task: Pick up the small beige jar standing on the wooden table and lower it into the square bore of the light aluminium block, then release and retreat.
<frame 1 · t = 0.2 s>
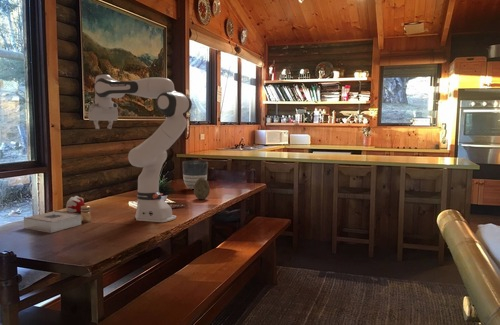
hand: (103, 128, 236), 47 cm above the table, fingers open, 8 cm apart
planter: (195, 189, 326), on the table
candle: (76, 213, 237), on the table
bore block: (53, 226, 206), on the table
decorative egg: (201, 199, 284), on the table
small beige jar: (85, 221, 217), on the table
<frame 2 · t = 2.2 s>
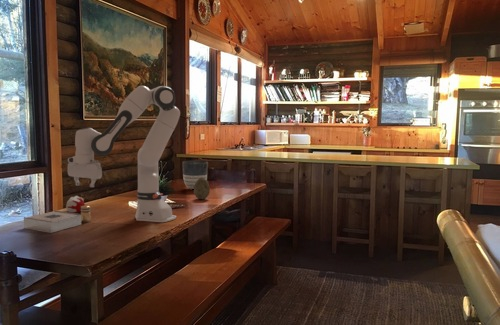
hand: (84, 186, 215), 18 cm above the table, fingers open, 8 cm apart
nothing on the table moved.
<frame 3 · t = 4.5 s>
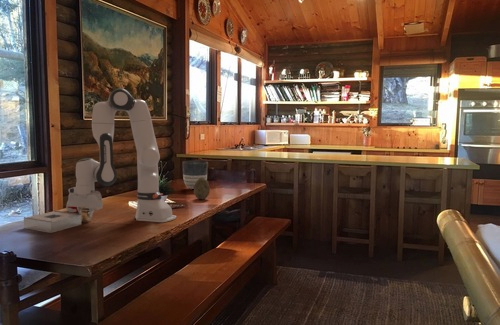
hand: (85, 216, 217), 3 cm above the table, fingers closed on small beige jar, 5 cm apart
small beige jar: (85, 221, 217), on the table, touching gripper
everything else where it was.
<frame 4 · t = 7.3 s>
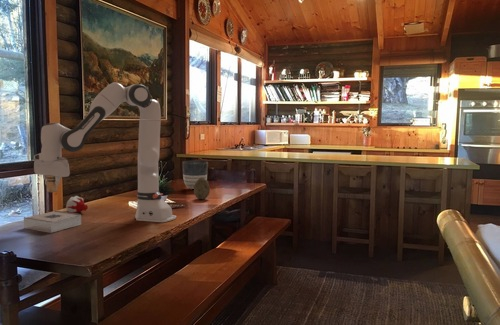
hand: (52, 184, 204), 21 cm above the table, fingers closed on small beige jar, 5 cm apart
small beige jar: (52, 191, 204), point 17 cm above the table, touching gripper
everything else where it was.
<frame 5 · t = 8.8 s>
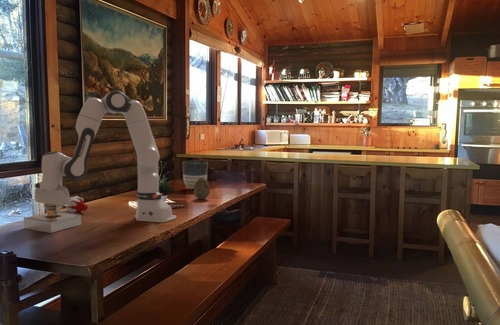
hand: (52, 212, 205), 7 cm above the table, fingers closed on small beige jar, 5 cm apart
small beige jar: (52, 219, 205), point 3 cm above the table, touching gripper
everything else where it was.
when the fingers open (5 cm above the table, at t = 10.1 s): small beige jar drops 2 cm, resting in bore block.
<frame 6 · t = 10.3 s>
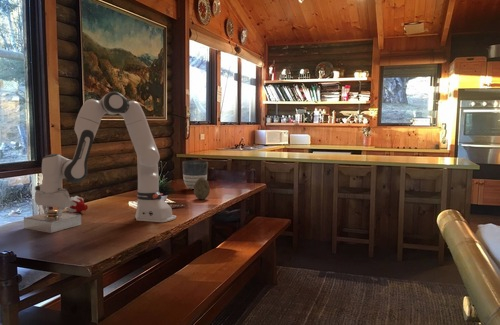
hand: (53, 215, 205), 5 cm above the table, fingers open, 7 cm apart
small beige jar: (53, 226, 206), resting in bore block
everything else where it was.
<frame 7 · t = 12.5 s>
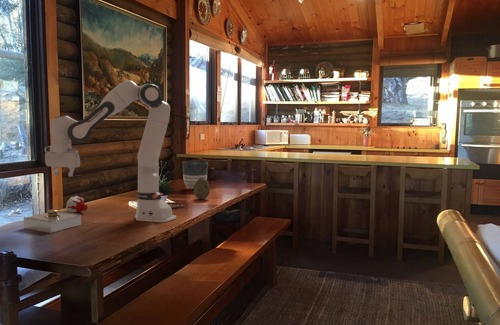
hand: (63, 175, 211), 24 cm above the table, fingers open, 8 cm apart
nothing on the table moved.
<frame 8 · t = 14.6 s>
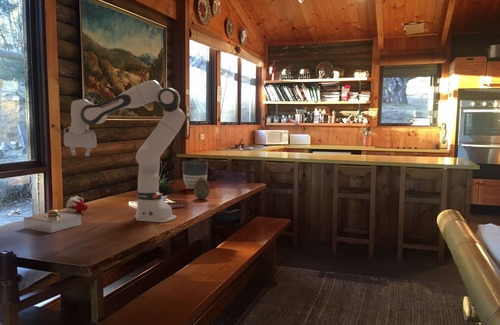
hand: (80, 155, 224), 33 cm above the table, fingers open, 8 cm apart
nothing on the table moved.
at the end: small beige jar 0.0 cm off-centre on the bore block, point 0.0 cm above the bore block's base; small beige jar tilted 1°; the gripper is holding nothing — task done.
